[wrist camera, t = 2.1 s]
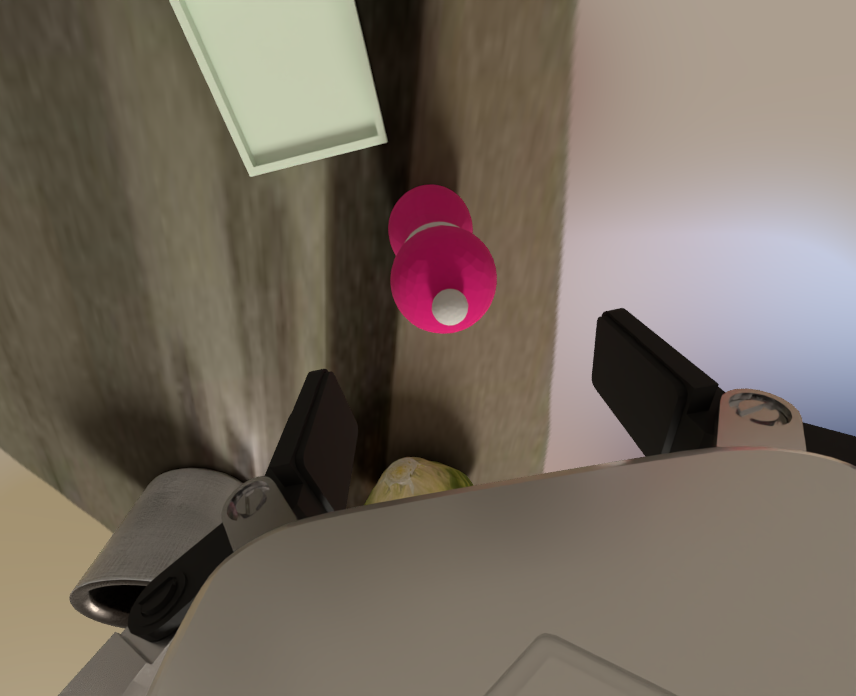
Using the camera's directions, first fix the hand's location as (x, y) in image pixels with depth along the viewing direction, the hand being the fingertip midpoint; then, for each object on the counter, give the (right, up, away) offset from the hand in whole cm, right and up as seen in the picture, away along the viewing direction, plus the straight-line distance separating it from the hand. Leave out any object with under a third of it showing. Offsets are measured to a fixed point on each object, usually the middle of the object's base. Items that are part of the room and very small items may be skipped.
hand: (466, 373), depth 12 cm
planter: (-38, -23, +42) cm, 61 cm away
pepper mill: (-1, +14, +20) cm, 25 cm away
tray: (-12, +22, +14) cm, 29 cm away
